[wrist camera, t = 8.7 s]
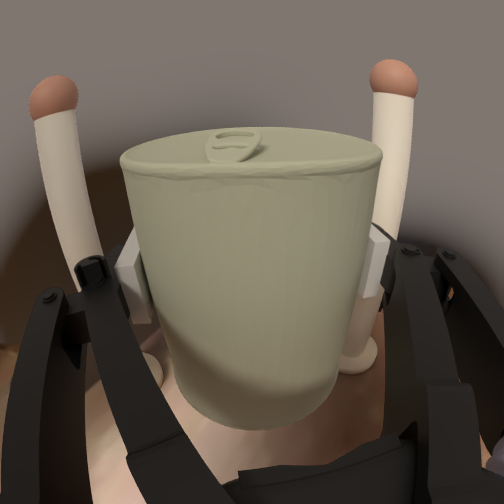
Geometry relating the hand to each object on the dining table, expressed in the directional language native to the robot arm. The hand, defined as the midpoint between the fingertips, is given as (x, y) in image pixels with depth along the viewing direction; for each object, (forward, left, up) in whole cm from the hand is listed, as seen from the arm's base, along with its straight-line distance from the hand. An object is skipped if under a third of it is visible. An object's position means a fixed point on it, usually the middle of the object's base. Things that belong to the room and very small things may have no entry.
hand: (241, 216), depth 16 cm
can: (+3, -4, -7) cm, 8 cm away
